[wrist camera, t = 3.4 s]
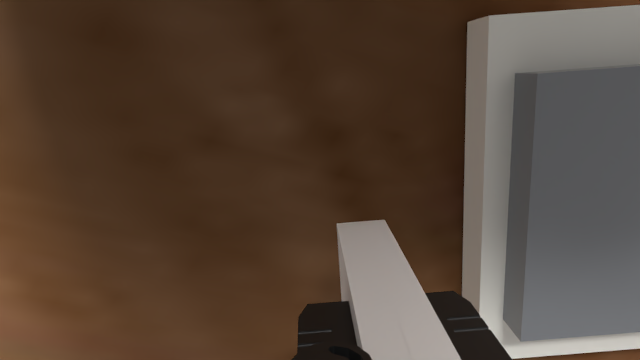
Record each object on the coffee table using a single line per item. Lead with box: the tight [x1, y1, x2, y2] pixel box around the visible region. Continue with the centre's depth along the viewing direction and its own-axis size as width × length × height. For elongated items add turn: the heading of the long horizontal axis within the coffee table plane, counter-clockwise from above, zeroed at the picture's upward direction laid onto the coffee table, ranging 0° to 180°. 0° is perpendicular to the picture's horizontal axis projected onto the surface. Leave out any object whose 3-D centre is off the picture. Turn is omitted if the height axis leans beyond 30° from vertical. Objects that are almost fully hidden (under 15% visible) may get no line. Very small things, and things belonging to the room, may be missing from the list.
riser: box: [462, 5, 640, 359], centre depth 17 cm, size 14×12×2 cm
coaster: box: [503, 64, 640, 342], centre depth 15 cm, size 10×8×2 cm
